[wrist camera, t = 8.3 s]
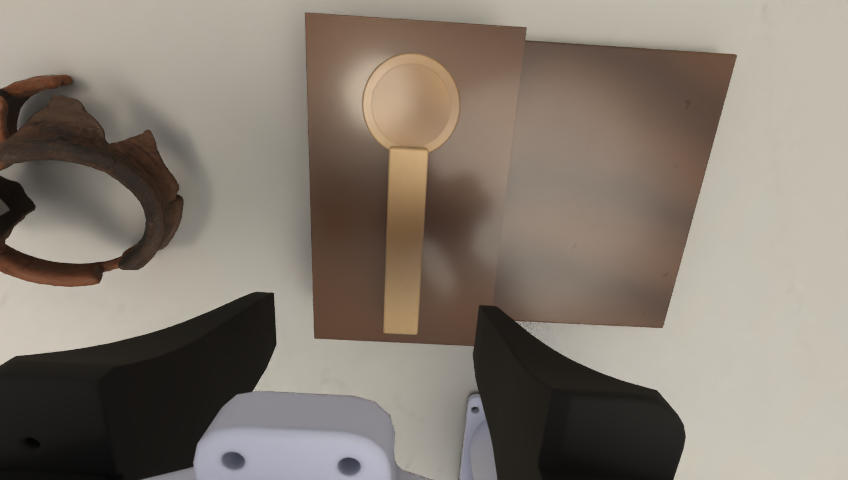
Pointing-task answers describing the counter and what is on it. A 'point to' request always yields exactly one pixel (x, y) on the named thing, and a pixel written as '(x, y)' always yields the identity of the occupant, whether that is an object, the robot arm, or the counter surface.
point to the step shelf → (511, 177)
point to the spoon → (408, 166)
